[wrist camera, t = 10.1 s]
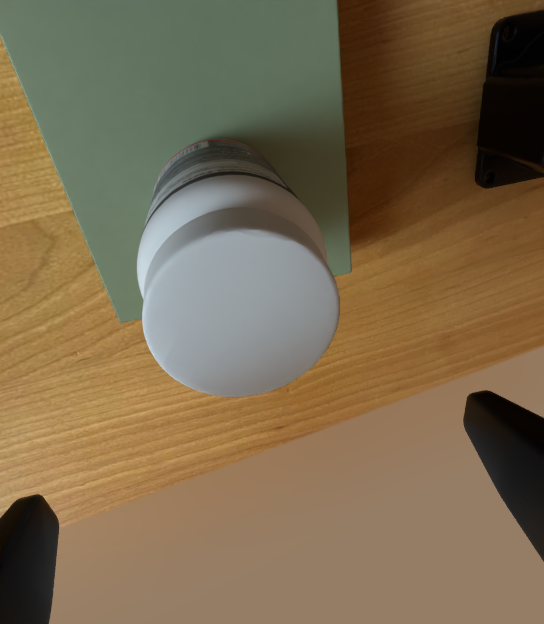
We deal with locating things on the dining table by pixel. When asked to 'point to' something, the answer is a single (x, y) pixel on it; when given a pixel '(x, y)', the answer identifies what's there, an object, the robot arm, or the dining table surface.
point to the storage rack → (180, 106)
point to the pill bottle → (233, 274)
